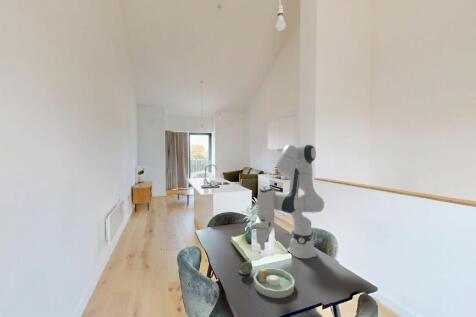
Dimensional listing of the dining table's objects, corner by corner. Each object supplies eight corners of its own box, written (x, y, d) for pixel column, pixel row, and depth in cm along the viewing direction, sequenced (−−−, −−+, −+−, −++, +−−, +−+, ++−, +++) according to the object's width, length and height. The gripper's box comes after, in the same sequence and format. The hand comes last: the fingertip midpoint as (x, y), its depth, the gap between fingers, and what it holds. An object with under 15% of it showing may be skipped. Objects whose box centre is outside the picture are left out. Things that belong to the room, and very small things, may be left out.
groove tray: (259, 271, 128) (259, 265, 128) (295, 278, 122) (296, 272, 122) (249, 292, 110) (249, 285, 109) (291, 302, 103) (292, 295, 103)
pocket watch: (243, 267, 132) (243, 250, 131) (255, 273, 127) (255, 255, 126) (234, 273, 126) (234, 255, 125) (246, 279, 120) (246, 260, 120)
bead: (259, 277, 120) (259, 268, 120) (267, 279, 119) (267, 269, 119) (257, 282, 116) (257, 272, 116) (265, 284, 115) (265, 274, 115)
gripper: (263, 212, 127) (263, 236, 128) (254, 224, 108) (253, 253, 109) (275, 213, 125) (274, 238, 126) (267, 226, 106) (266, 255, 107)
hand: (264, 245), depth 117 cm, fingers open, 8 cm apart
